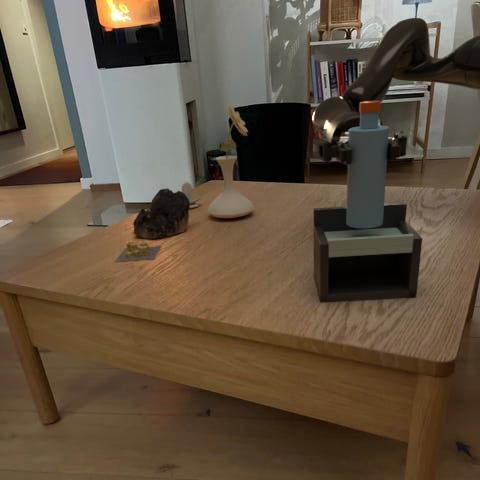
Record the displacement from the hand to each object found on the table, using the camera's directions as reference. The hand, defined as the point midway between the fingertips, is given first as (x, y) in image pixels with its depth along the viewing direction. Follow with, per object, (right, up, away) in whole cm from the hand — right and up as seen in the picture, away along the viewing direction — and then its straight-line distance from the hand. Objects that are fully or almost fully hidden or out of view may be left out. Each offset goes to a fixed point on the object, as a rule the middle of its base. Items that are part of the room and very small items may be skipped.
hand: (371, 154), depth 62 cm
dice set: (-38, -8, +35) cm, 52 cm away
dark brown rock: (-35, -1, +48) cm, 60 cm away
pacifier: (-31, +9, +66) cm, 74 cm away
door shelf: (+2, -16, +12) cm, 21 cm away
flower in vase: (-19, +4, +55) cm, 59 cm away
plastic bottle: (+1, -8, +7) cm, 10 cm away
